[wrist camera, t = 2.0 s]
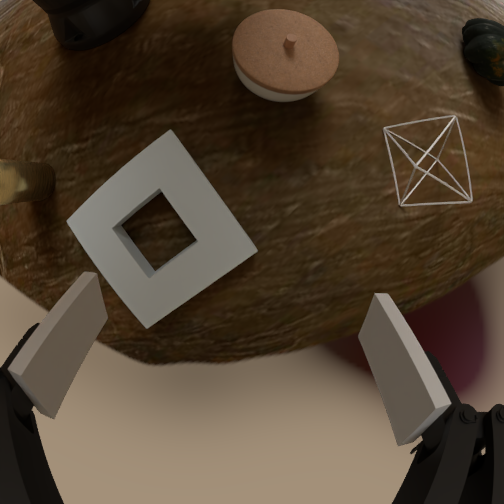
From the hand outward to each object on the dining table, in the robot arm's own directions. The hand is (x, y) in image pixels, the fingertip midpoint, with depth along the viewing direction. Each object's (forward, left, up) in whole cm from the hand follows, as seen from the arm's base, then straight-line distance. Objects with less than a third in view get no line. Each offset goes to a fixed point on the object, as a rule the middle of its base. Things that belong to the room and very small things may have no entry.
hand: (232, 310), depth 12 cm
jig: (-5, -6, -20) cm, 22 cm away
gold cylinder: (-21, -16, -20) cm, 33 cm away
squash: (-3, +61, -20) cm, 65 cm away
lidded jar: (-13, +16, -20) cm, 29 cm away
